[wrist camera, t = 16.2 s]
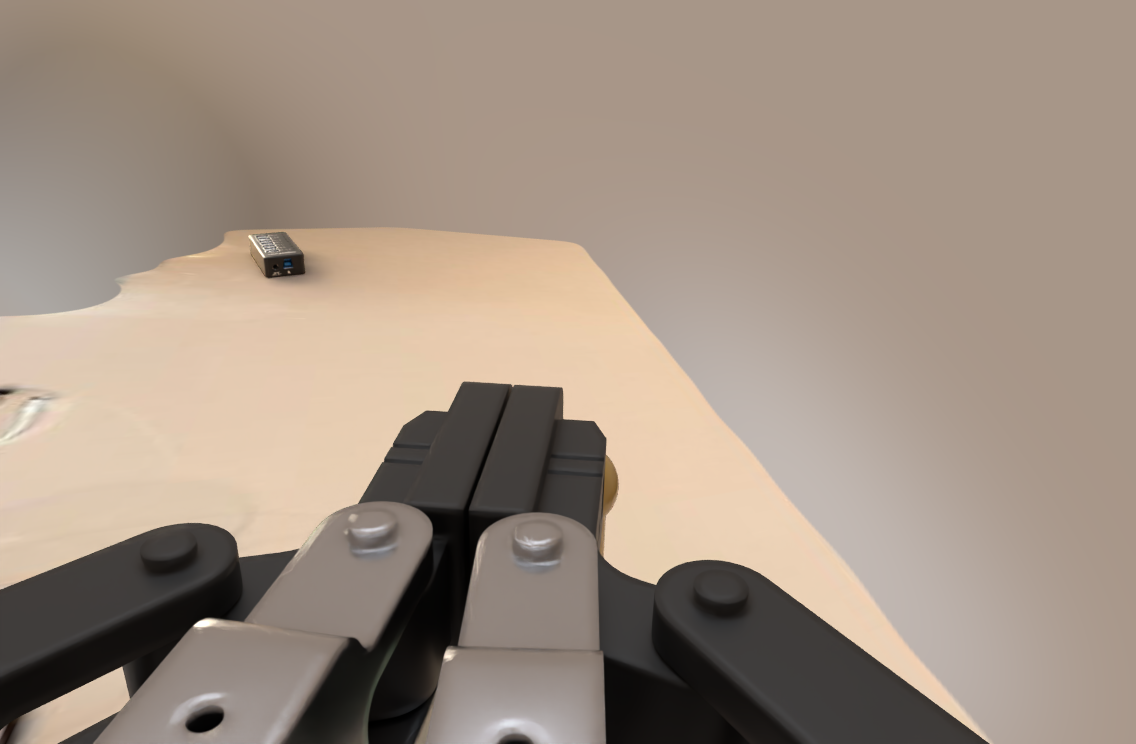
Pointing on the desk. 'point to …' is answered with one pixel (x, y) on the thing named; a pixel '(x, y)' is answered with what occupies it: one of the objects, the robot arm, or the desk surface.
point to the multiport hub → (276, 254)
